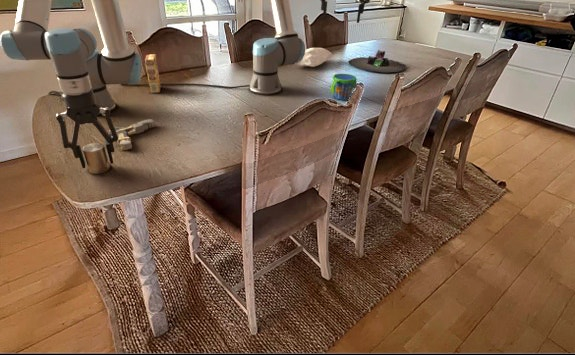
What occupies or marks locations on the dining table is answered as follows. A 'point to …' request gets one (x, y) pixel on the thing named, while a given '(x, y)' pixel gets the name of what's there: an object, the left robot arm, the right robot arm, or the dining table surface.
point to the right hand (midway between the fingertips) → (340, 21)
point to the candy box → (152, 73)
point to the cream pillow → (314, 57)
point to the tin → (96, 158)
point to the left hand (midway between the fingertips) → (98, 163)
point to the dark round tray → (377, 63)
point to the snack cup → (343, 86)
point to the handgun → (131, 132)
